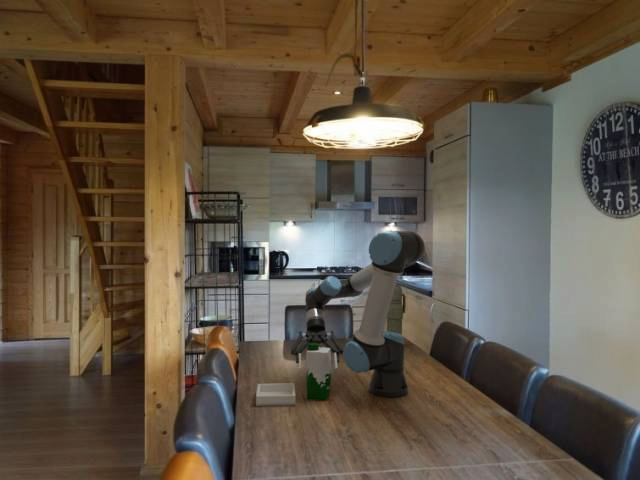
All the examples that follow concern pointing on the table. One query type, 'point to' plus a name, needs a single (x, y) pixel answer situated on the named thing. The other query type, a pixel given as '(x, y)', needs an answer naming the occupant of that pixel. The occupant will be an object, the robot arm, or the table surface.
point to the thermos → (396, 311)
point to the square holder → (275, 394)
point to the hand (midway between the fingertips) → (318, 370)
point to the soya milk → (318, 372)
